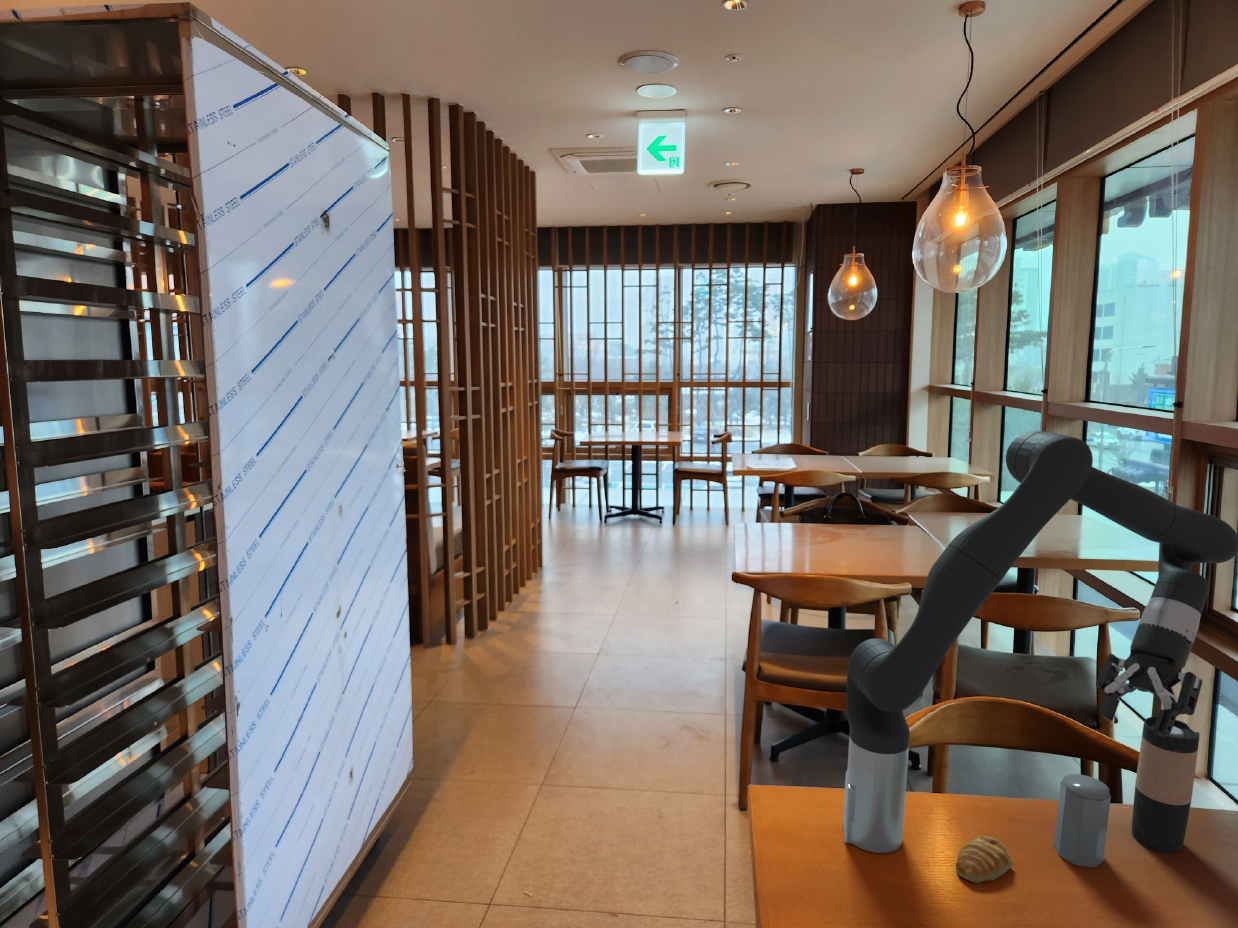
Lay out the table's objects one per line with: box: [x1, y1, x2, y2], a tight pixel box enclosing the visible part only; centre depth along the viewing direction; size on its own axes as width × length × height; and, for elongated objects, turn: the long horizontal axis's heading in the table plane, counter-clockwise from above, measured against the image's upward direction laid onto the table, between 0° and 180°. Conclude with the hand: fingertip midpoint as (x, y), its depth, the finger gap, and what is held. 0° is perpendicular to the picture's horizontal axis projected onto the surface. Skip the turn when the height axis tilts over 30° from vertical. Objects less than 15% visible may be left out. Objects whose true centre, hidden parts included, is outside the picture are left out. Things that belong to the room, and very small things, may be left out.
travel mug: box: [1131, 716, 1200, 854], centre depth 130 cm, size 8×8×20 cm
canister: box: [1053, 773, 1112, 868], centre depth 127 cm, size 6×6×12 cm
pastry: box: [955, 835, 1014, 884], centre depth 124 cm, size 9×7×4 cm
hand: (1131, 726), depth 124 cm, fingers open, 8 cm apart
